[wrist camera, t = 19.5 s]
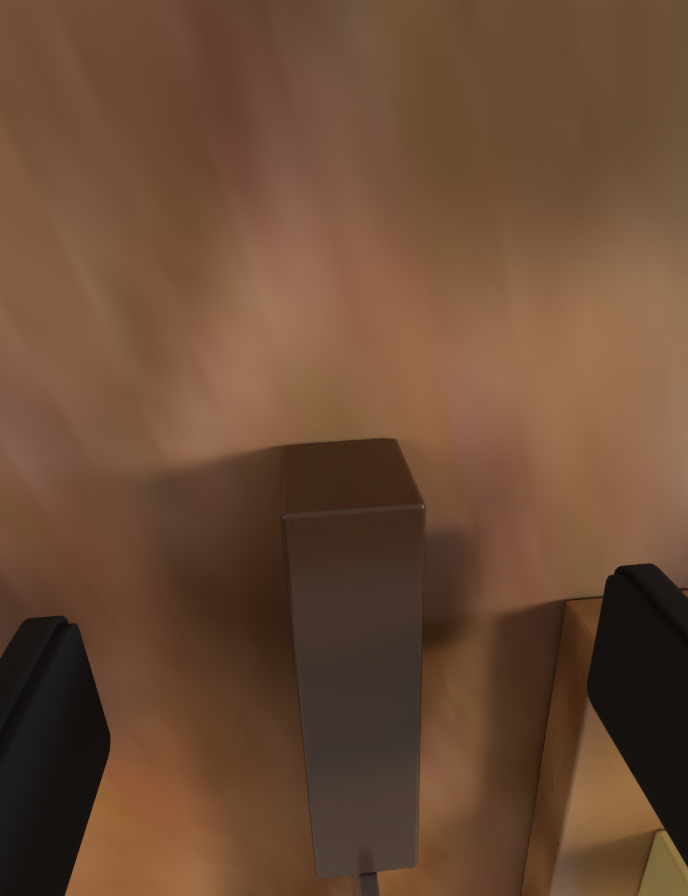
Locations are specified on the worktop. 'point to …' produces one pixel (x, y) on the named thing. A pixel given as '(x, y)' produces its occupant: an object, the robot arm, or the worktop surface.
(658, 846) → the butter pat
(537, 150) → the worktop surface
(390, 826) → the knife
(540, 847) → the cutting board
